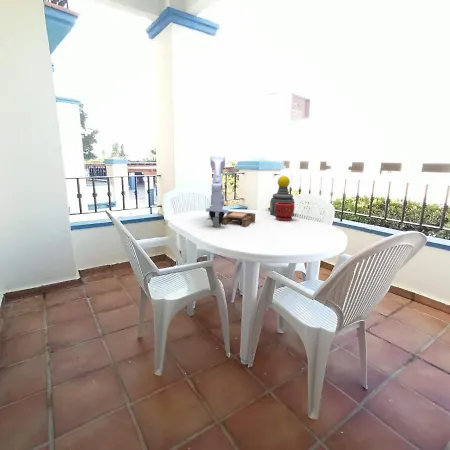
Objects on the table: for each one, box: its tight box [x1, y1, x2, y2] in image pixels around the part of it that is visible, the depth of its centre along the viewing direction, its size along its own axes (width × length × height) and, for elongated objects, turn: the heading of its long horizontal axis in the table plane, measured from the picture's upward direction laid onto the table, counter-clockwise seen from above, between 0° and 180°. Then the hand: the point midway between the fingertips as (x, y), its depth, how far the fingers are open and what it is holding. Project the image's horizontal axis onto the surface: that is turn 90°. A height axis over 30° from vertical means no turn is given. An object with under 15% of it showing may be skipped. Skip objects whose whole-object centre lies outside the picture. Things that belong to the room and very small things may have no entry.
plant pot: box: [275, 202, 295, 222], centre depth 197 cm, size 13×13×12 cm
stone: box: [212, 216, 222, 228], centre depth 175 cm, size 4×4×6 cm
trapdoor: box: [228, 213, 247, 218], centre depth 184 cm, size 10×10×1 cm
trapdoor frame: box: [221, 210, 256, 228], centre depth 185 cm, size 20×16×6 cm
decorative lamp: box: [269, 175, 295, 217], centre depth 213 cm, size 19×19×30 cm
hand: (216, 223), depth 175 cm, fingers closed on stone, 4 cm apart
